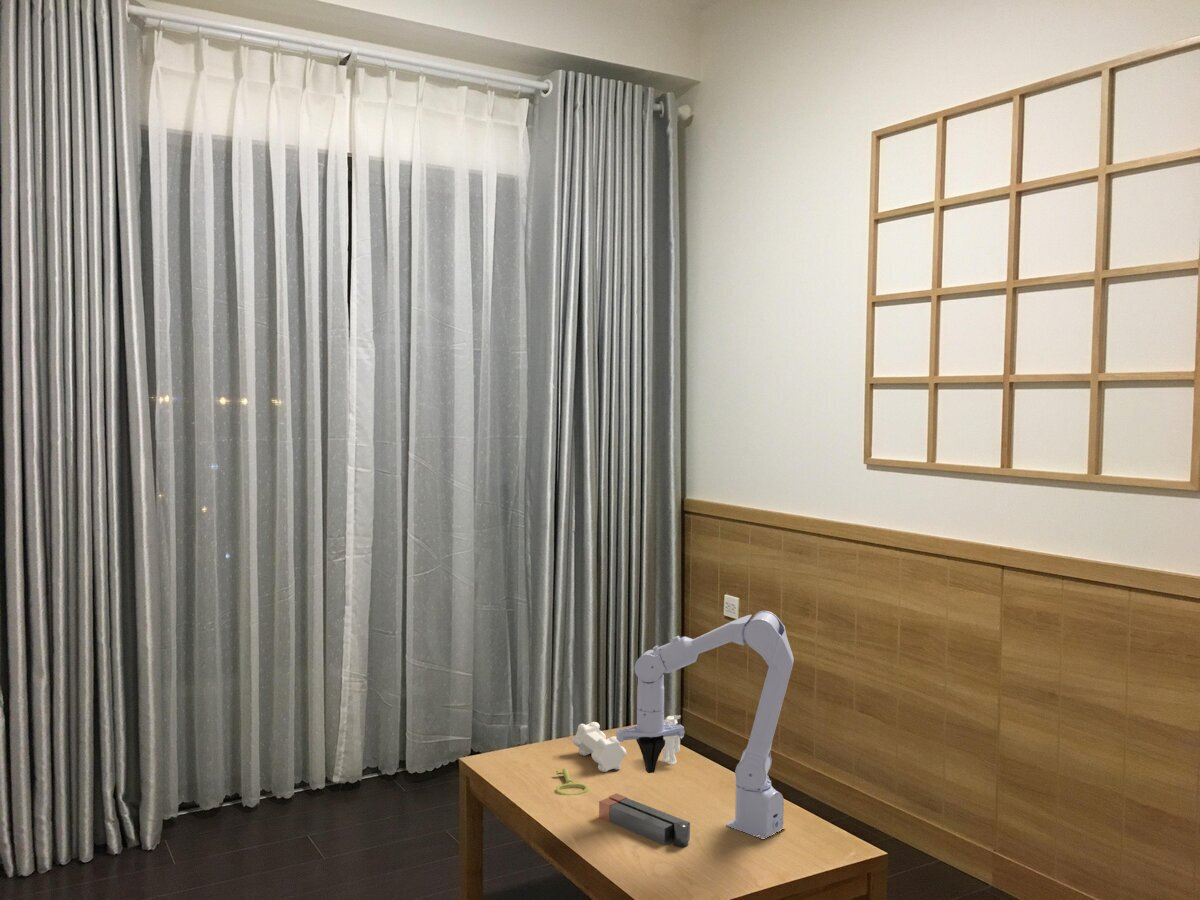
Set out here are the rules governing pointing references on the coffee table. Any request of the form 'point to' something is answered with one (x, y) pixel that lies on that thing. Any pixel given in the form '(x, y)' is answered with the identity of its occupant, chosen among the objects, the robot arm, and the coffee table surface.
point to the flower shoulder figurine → (671, 742)
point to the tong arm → (679, 826)
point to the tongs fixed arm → (635, 821)
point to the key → (569, 784)
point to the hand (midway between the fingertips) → (650, 771)
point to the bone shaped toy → (599, 746)
